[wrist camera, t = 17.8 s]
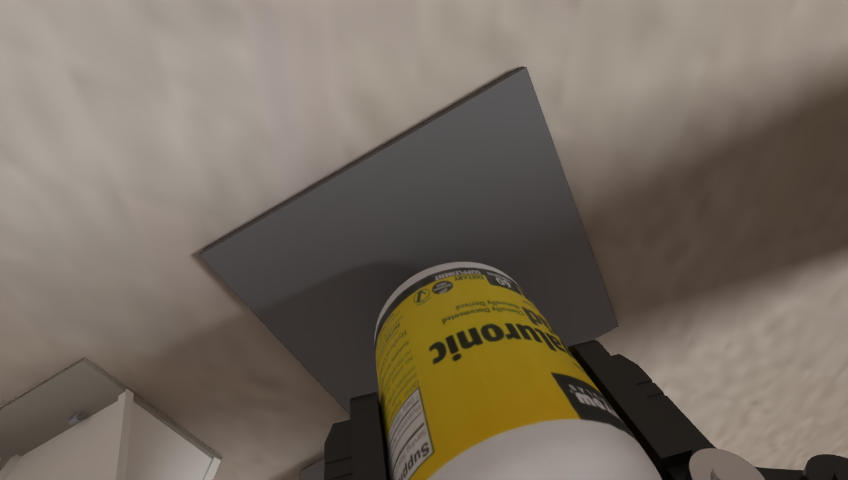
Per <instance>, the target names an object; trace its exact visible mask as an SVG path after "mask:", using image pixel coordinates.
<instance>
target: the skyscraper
mask: <svg viewBox="0 0 848 480" xmlns="http://www.w3.org/2000/svg"><path fill="white" fill-rule="evenodd" d="M221 459H222V457H221V456H219V455H218V454H217V453H215V452H214V451H213V450H211V449H210V448H208V447H207V446H206V445H204V444H203V443H202V442H200V441H199V440H197V439H196V438H195V437H193V436H192V435H191V434H189V433H188V432H186V431H185V430H184V429H182V428H181V427H180V426H178V425H177V424H175V423H174V422H173V421H171V420H170V419H169V418H167V417H166V416H164V415H163V414H162V413H160V412H159V411H158V410H156V409H155V408H153V407H152V406H151V405H149V404H148V403H147V402H145V401H144V400H142V399H141V398H140V397H138V396H137V395H136V394H134V393H133V392H131V391H130V390H129V389H127V388H126V387H125V386H123V385H122V384H120V383H119V382H118V381H116V380H115V379H114V378H112V377H111V376H109V375H108V374H107V373H105V372H104V371H103V370H101V369H100V368H98V367H97V366H96V365H94V364H93V363H92V362H90V361H89V360H87V359H86V358H83V359H82V360H80V361H78V362H77V363H75V364H73V365H72V366H70V367H68V368H67V369H65V370H63V371H62V372H60V373H58V374H57V375H55V376H53V377H52V378H50V379H48V380H47V381H45V382H43V383H42V384H40V385H38V386H37V387H35V388H33V389H32V390H30V391H28V392H27V393H25V394H24V395H22V396H20V397H19V398H17V399H15V400H14V401H12V402H10V403H9V404H7V405H5V406H4V407H2V408H0V480H213V478H214V475H215V473H216V471H217V469H218V466H219V464H220V462H221Z"/></svg>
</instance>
